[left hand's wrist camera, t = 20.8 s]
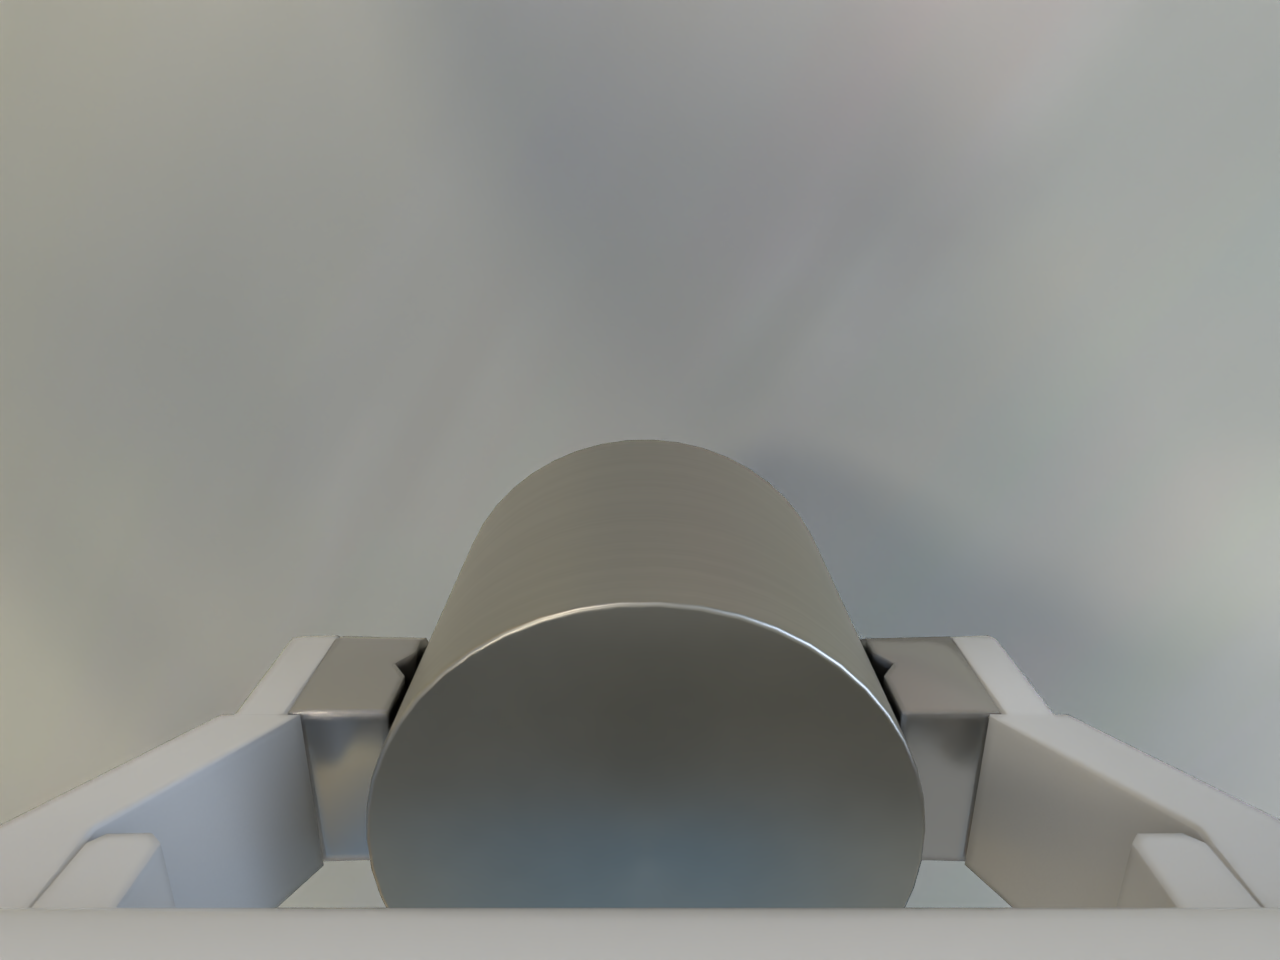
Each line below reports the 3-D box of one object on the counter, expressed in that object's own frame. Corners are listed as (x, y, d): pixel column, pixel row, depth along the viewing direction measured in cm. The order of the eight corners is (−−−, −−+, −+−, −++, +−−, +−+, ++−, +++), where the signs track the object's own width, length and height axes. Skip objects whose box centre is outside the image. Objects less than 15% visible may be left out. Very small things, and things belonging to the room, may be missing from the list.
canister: (543, 802, 13) (499, 1099, 9) (399, 511, 11) (262, 708, 7) (868, 705, 12) (982, 975, 8) (764, 384, 11) (842, 520, 7)
